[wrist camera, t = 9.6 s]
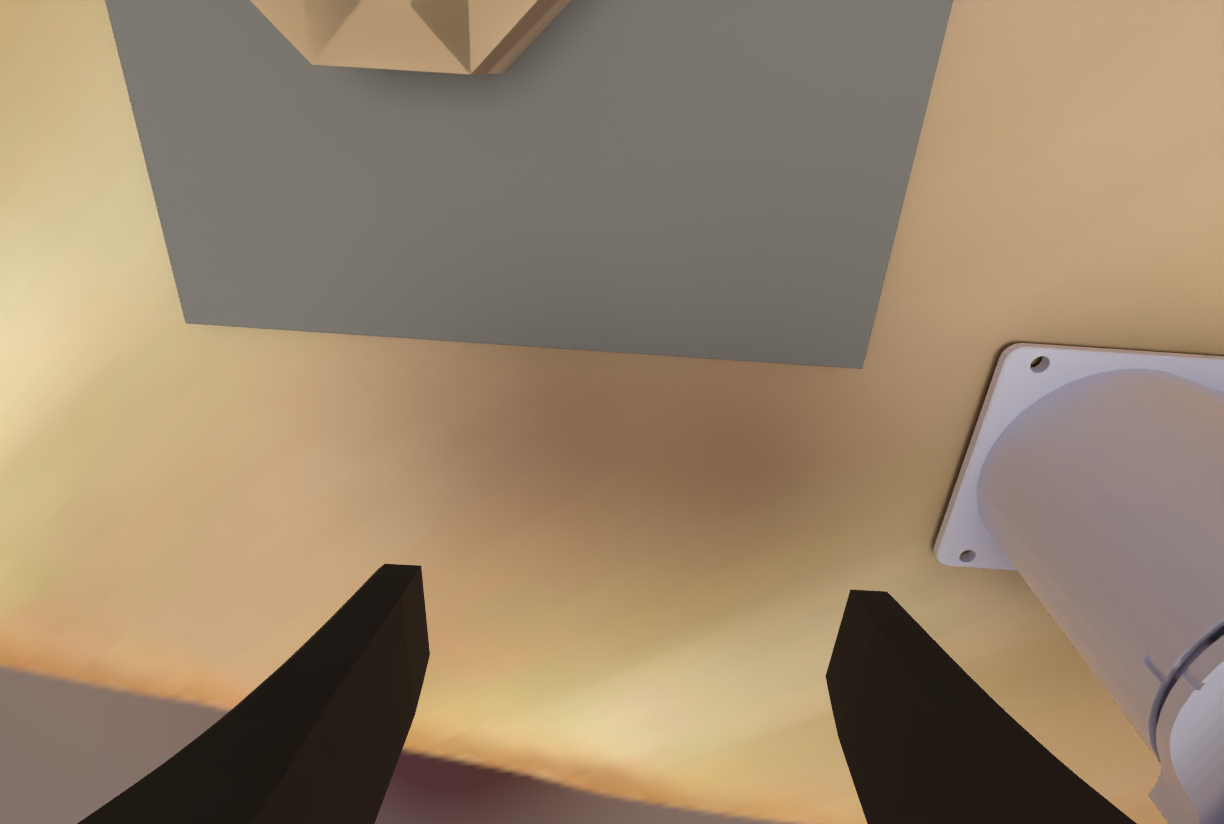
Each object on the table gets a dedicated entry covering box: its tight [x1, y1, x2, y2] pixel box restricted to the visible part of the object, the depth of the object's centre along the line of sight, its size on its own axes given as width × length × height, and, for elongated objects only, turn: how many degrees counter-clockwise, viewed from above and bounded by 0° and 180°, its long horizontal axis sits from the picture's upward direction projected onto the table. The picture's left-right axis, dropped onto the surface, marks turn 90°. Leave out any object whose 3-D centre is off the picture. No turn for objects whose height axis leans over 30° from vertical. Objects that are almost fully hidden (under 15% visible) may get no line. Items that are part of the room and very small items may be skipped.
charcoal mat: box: [105, 0, 953, 369], centre depth 16 cm, size 20×17×1 cm
